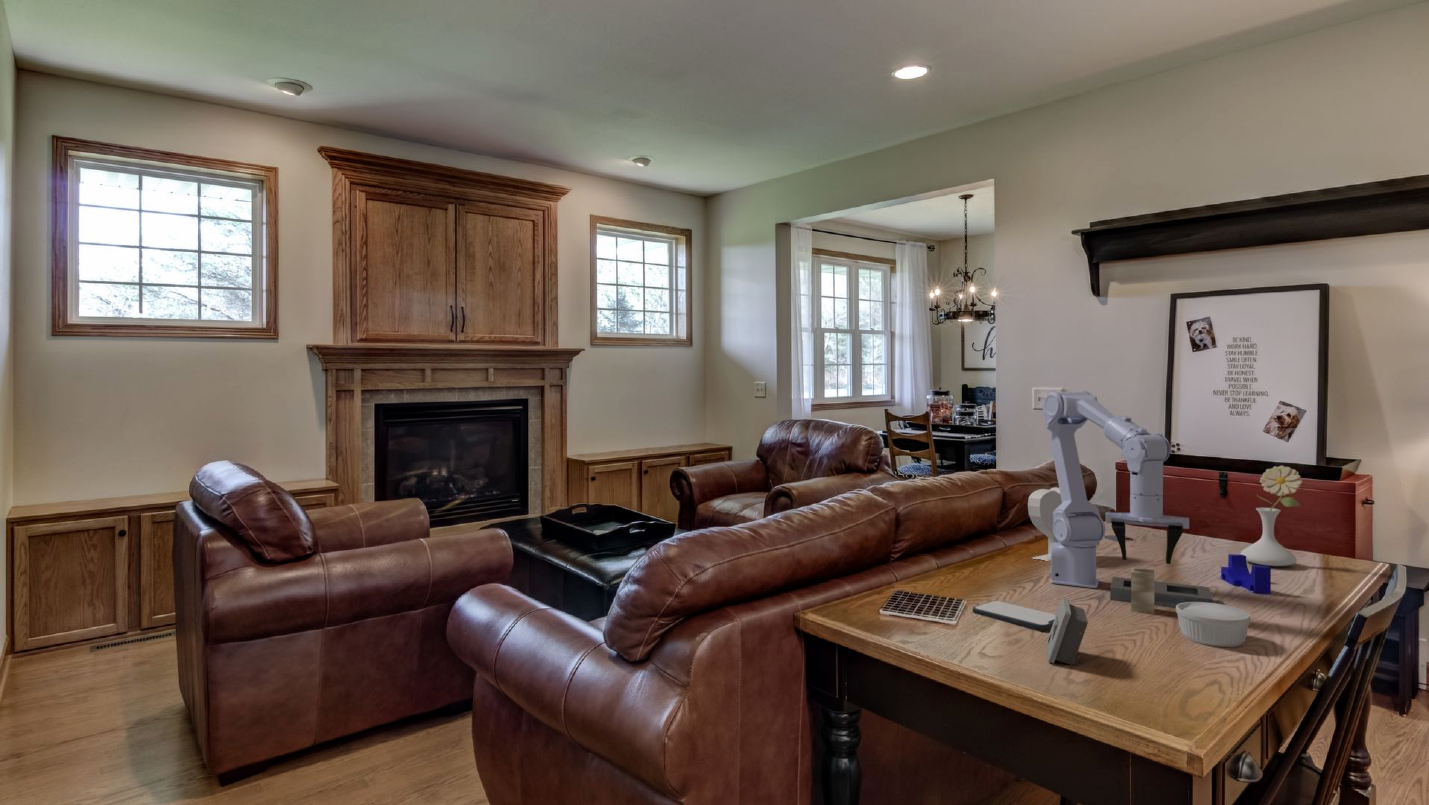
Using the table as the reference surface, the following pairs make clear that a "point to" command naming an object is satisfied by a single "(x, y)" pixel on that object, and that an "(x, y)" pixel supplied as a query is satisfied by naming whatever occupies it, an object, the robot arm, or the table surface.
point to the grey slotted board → (1163, 592)
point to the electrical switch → (1066, 633)
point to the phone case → (1016, 615)
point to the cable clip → (1247, 575)
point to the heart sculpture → (1045, 514)
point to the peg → (1142, 590)
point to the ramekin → (1213, 623)
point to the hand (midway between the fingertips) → (1146, 560)
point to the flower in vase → (1267, 546)
